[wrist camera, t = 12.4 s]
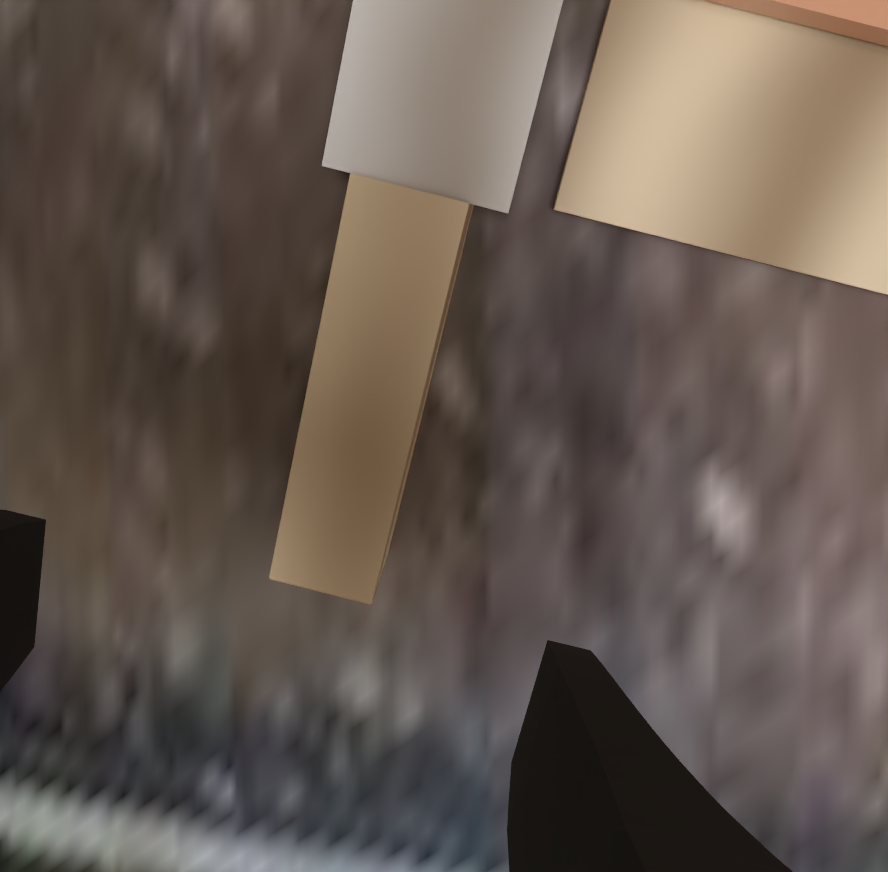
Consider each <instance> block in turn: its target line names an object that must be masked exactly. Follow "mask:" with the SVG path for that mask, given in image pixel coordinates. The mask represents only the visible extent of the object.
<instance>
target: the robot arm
mask: <svg viewBox="0 0 888 872" xmlns="http://www.w3.org/2000/svg"><path fill="white" fill-rule="evenodd" d="M45 524H46V520H45V519H41V518H36V517H32V516H28V515H24V514H20V513H16V512H11V511H7V510H0V691H1V690H2V688H3V687H4V686H5V685H6V683H7V682H8V681H9V680H10V678H11V677H12V676H13V674H14V673H15V672H16V670H17V669H18V668H19V666H20V665H21V664H22V662H23V661H24V660H25V658H26V657H27V656H28V654H29V653H30V652H31V650H32V649H33V648H34V644H35V633H36V622H37V611H38V600H39V589H40V578H41V568H42V557H43V546H44V535H45ZM507 835H508V854H509V872H792V871H791V870H790V869H789V868H788V867H787V866H785V865H784V864H783V863H782V862H781V861H780V860H778V859H777V858H776V857H775V856H774V855H773V854H772V853H770V852H769V851H768V850H767V849H766V848H765V847H764V846H763V845H762V844H761V843H760V842H759V841H758V840H757V839H755V838H754V837H753V836H752V835H751V834H750V833H749V832H748V831H747V830H746V829H745V828H744V827H743V826H742V825H740V824H739V823H738V822H737V821H736V820H735V819H734V818H733V817H732V816H731V815H730V814H729V813H728V812H727V811H726V810H725V809H724V808H723V807H722V806H721V805H720V804H719V803H718V802H717V801H716V800H715V799H714V798H713V797H712V796H711V795H710V794H709V793H708V792H707V791H706V789H705V788H704V787H703V786H702V785H701V784H700V783H699V782H698V781H697V780H696V779H695V777H694V776H693V775H692V774H691V773H690V772H689V771H688V770H687V769H686V768H685V767H684V765H683V764H682V763H681V762H680V761H679V760H678V759H677V758H676V756H675V755H674V754H673V753H672V752H671V751H670V749H669V748H668V747H667V746H666V745H665V744H664V742H663V741H662V740H661V739H660V737H659V736H658V735H657V734H656V733H655V731H654V730H653V729H652V728H651V726H650V725H649V724H648V723H647V721H646V720H645V719H644V718H643V716H642V715H641V714H640V713H639V711H638V710H637V709H636V708H635V706H634V705H633V704H632V702H631V701H630V700H629V699H628V697H627V696H626V695H625V693H624V692H623V691H622V689H621V688H620V687H619V685H618V684H617V683H616V682H615V680H614V679H613V678H612V676H611V675H610V674H609V672H608V671H607V670H606V668H605V667H604V666H603V665H602V663H601V662H600V661H599V660H598V658H597V657H596V656H595V655H594V654H593V653H592V652H591V650H586V649H582V648H578V647H574V646H570V645H566V644H561V643H557V642H553V641H549V640H548V641H547V644H546V647H545V651H544V654H543V658H542V661H541V664H540V668H539V671H538V675H537V678H536V681H535V685H534V688H533V691H532V695H531V698H530V702H529V705H528V708H527V712H526V715H525V719H524V722H523V725H522V729H521V732H520V735H519V739H518V742H517V746H516V749H515V752H514V756H513V759H512V764H511V778H510V791H509V807H508V825H507Z"/></svg>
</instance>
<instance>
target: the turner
mask: <svg viewBox="0 0 888 872" xmlns="http://www.w3.org/2000/svg"><path fill="white" fill-rule="evenodd" d="M562 3H563V0H353V4H352V9H351V14H350V20H349V25H348V30H347V35H346V41H345V46H344V51H343V56H342V62H341V67H340V72H339V77H338V83H337V88H336V93H335V98H334V104H333V109H332V114H331V119H330V125H329V130H328V135H327V140H326V146H325V151H324V156H323V161H322V166H324V167H328V168H332V169H336V170H339V171H343V172H347V173H350V177H349V182H348V187H347V192H346V197H345V202H344V207H343V212H342V217H341V222H340V227H339V232H338V237H337V242H336V247H335V252H334V257H333V262H332V267H331V272H330V277H329V282H328V287H327V292H326V297H325V302H324V307H323V312H322V317H321V322H320V327H319V332H318V337H317V342H316V347H315V352H314V357H313V362H312V367H311V372H310V377H309V381H308V386H307V391H306V396H305V401H304V406H303V411H302V416H301V421H300V426H299V431H298V436H297V441H296V446H295V451H294V456H293V461H292V466H291V471H290V476H289V481H288V486H287V491H286V496H285V501H284V506H283V511H282V516H281V521H280V526H279V531H278V536H277V541H276V546H275V551H274V556H273V561H272V566H271V571H270V576H269V579H272V580H276V581H280V582H284V583H288V584H292V585H296V586H300V587H303V588H307V589H311V590H315V591H319V592H323V593H327V594H331V595H335V596H339V597H343V598H347V599H351V600H355V601H359V602H362V603H366V604H370V605H372V602H373V599H374V596H375V593H376V590H377V587H378V584H379V580H380V577H381V574H382V571H383V568H384V565H385V562H386V559H387V556H388V553H389V549H390V545H391V541H392V537H393V533H394V529H395V525H396V521H397V517H398V513H399V508H400V504H401V500H402V496H403V492H404V488H405V484H406V480H407V476H408V472H409V468H410V464H411V459H412V455H413V451H414V447H415V443H416V439H417V435H418V431H419V427H420V423H421V419H422V415H423V411H424V406H425V402H426V398H427V394H428V390H429V386H430V382H431V378H432V374H433V370H434V366H435V362H436V357H437V353H438V349H439V345H440V341H441V337H442V333H443V329H444V325H445V321H446V317H447V313H448V308H449V304H450V300H451V296H452V292H453V288H454V284H455V280H456V276H457V272H458V268H459V264H460V259H461V255H462V251H463V247H464V243H465V239H466V235H467V231H468V227H469V223H470V219H471V215H472V210H473V206H474V205H477V206H481V207H484V208H488V209H492V210H496V211H500V212H504V213H508V212H509V209H510V205H511V201H512V197H513V193H514V189H515V185H516V181H517V177H518V174H519V170H520V166H521V162H522V158H523V154H524V150H525V146H526V142H527V139H528V135H529V131H530V127H531V123H532V119H533V115H534V111H535V108H536V104H537V100H538V96H539V92H540V88H541V84H542V80H543V76H544V73H545V69H546V65H547V61H548V57H549V53H550V49H551V45H552V41H553V38H554V34H555V30H556V26H557V22H558V18H559V14H560V10H561V7H562Z"/></svg>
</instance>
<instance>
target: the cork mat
mask: <svg viewBox="0 0 888 872" xmlns="http://www.w3.org/2000/svg"><path fill="white" fill-rule="evenodd" d="M553 210H556V211H560V212H564V213H568V214H572V215H576V216H580V217H584V218H587V219H591V220H595V221H599V222H603V223H607V224H611V225H615V226H619V227H623V228H627V229H631V230H635V231H638V232H642V233H646V234H650V235H654V236H658V237H662V238H666V239H670V240H674V241H678V242H682V243H686V244H689V245H693V246H697V247H701V248H705V249H709V250H713V251H717V252H721V253H725V254H729V255H733V256H737V257H740V258H744V259H748V260H752V261H756V262H760V263H764V264H768V265H772V266H776V267H780V268H784V269H788V270H791V271H795V272H799V273H803V274H807V275H811V276H815V277H819V278H823V279H827V280H831V281H835V282H839V283H843V284H846V285H850V286H854V287H858V288H862V289H866V290H870V291H874V292H878V293H882V294H886V295H888V46H884V45H880V44H877V43H873V42H869V41H865V40H861V39H857V38H853V37H849V36H845V35H841V34H837V33H833V32H829V31H825V30H821V29H818V28H814V27H810V26H806V25H802V24H798V23H794V22H790V21H786V20H782V19H778V18H774V17H770V16H766V15H762V14H759V13H755V12H751V11H747V10H743V9H739V8H735V7H731V6H727V5H723V4H719V3H715V2H711V1H707V0H610V1H609V5H608V9H607V12H606V16H605V20H604V23H603V27H602V31H601V34H600V38H599V42H598V45H597V49H596V53H595V56H594V60H593V64H592V67H591V71H590V75H589V78H588V82H587V86H586V89H585V93H584V97H583V100H582V104H581V108H580V111H579V115H578V119H577V122H576V126H575V130H574V133H573V137H572V141H571V144H570V148H569V152H568V155H567V159H566V163H565V167H564V170H563V174H562V178H561V181H560V185H559V189H558V192H557V196H556V200H555V203H554V207H553Z"/></svg>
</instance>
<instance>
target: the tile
mask: <svg viewBox="0 0 888 872" xmlns="http://www.w3.org/2000/svg"><path fill="white" fill-rule="evenodd" d="M707 1H711V2H715V3H719V4H723V5H727V6H731V7H735V8H739V9H743V10H747V11H751V12H755V13H759V14H762V15H766V16H770V17H774V18H778V19H782V20H786V21H790V22H794V23H798V24H802V25H806V26H810V27H814V28H818V29H821V30H825V31H829V32H833V33H837V34H841V35H845V36H849V37H853V38H857V39H861V40H865V41H869V42H873V43H877V44H880V45H884V46H888V0H707Z"/></svg>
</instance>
